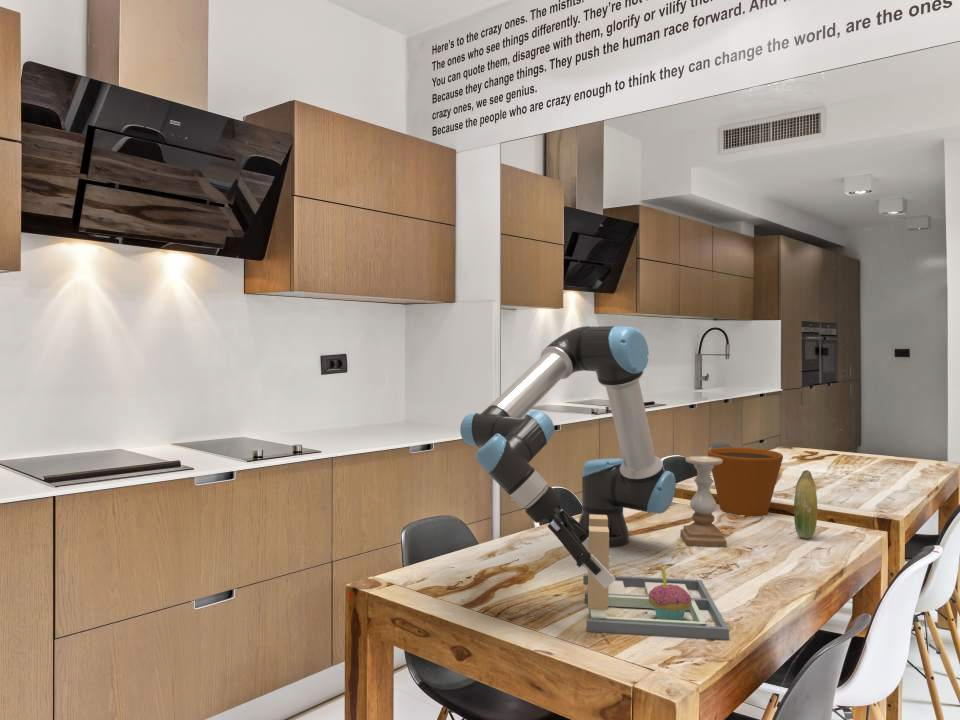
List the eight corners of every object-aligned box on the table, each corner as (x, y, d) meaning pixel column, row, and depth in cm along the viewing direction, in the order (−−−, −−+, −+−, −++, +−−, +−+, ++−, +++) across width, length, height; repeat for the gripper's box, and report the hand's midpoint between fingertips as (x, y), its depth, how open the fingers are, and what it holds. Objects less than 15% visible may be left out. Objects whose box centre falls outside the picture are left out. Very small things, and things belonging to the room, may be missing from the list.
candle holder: (717, 536, 206) (719, 455, 205) (727, 547, 195) (728, 462, 194) (679, 535, 207) (680, 454, 206) (686, 546, 196) (688, 461, 195)
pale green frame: (588, 627, 139) (590, 537, 139) (587, 603, 152) (588, 520, 152) (705, 634, 136) (707, 542, 136) (693, 608, 149) (695, 524, 149)
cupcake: (667, 632, 138) (668, 571, 137) (639, 616, 145) (640, 559, 145) (700, 624, 142) (701, 565, 141) (670, 609, 149) (671, 553, 149)
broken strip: (589, 599, 154) (590, 522, 153) (587, 584, 164) (588, 511, 163) (692, 605, 151) (693, 526, 151) (684, 589, 161) (685, 514, 161)
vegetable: (821, 540, 202) (823, 471, 202) (805, 542, 200) (806, 473, 199) (805, 535, 208) (806, 468, 207) (788, 537, 206) (790, 469, 205)
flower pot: (792, 511, 238) (793, 452, 237) (766, 524, 220) (767, 461, 220) (723, 500, 254) (724, 445, 253) (694, 511, 236) (695, 452, 236)
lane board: (586, 631, 138) (586, 621, 138) (583, 582, 165) (583, 574, 165) (728, 639, 134) (729, 629, 134) (701, 588, 162) (701, 580, 162)
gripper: (527, 496, 159) (593, 565, 158) (519, 525, 134) (597, 606, 133) (550, 474, 158) (617, 542, 157) (547, 498, 133) (626, 580, 132)
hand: (608, 572), depth 145 cm, fingers open, 13 cm apart
